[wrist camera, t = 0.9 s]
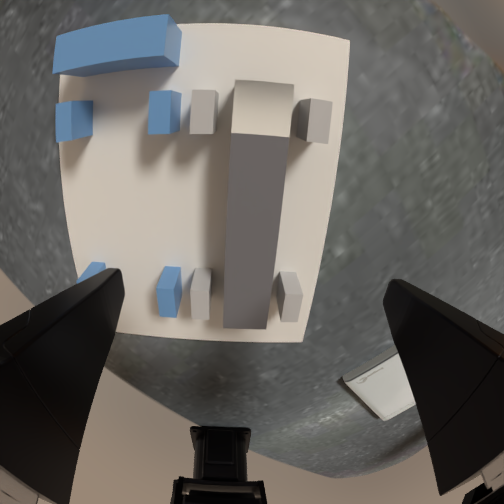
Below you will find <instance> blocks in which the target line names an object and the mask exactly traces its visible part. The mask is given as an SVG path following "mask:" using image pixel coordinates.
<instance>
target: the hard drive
mask: <svg viewBox="0 0 504 504" xmlns="http://www.w3.org/2000/svg"><path fill="white" fill-rule="evenodd" d="M342 377H343V380H344V382H345V383H346V384H347V386H349V387H350V388H351V390H352V391H354V392H355V393H356V394H357V395H358V396H359V397H360V398H361V399H362V400H363V401H364V402H365V404H367V405H368V406H369V407H370V408H371V409H372V410H373V411H374V412H375V413H376V414H377V415H378V416H379V417H380V418H381V419H382V420H383V421H385V420H388V419H390V418H392V417H394V416H396V415H398V414H399V413H401V412H403V411H405V410H406V409H408V408H410V407H412V406H413V405H415V404H416V403H415V400H414V397H413V394H412V391H411V388H410V385H409V382H408V379H407V376H406V373H405V370H404V368H403V365H402V362H401V359H400V357H399V354H398V351H397V349H396V346H395V345H394V346H392V347H390V348H389V349H387V350H386V351H384V352H383V353H381V354H379V355H378V356H376V357H374V358H373V359H371V360H369V361H368V362H366V363H364V364H363V365H361V366H359V367H357V368H356V369H354V370H352V371H350V372H349V373H347V374H345V375H343V376H342Z"/></svg>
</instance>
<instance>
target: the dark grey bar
mask: <svg viewBox="0 0 504 504" xmlns="http://www.w3.org/2000/svg"><path fill="white" fill-rule="evenodd" d="M293 94H294V85H293V84H285V83H276V82H266V81H254V80H238V79H235V87H234V100H233V114H232V129H231V144H230V161H229V179H228V198H227V219H226V243H225V271H224V306H223V328H229V329H265V330H266V327H267V320H268V313H269V306H270V299H271V291H272V283H273V276H274V268H275V260H276V252H277V244H278V236H279V228H280V219H281V211H282V202H283V193H284V184H285V175H286V166H287V156H288V147H289V137H290V126H291V116H292V105H293Z"/></svg>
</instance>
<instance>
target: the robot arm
mask: <svg viewBox="0 0 504 504" xmlns="http://www.w3.org/2000/svg"><path fill="white" fill-rule="evenodd" d="M124 297H125V288H124V283H123V277H122V272H121V270H120V269H119V268H107V269H105V270H103V271H101V272H99V273H97V274H95V275H93V276H91V277H89V278H87V279H85V280H83V281H82V282H80V283H78V284H76V285H74V286H72V287H70V288H68V289H66V290H64V291H63V292H61V293H59V294H57V295H55V296H53V297H51V298H49V299H48V300H46V301H44V302H42V303H40V304H39V305H37V306H35V307H33V308H31V310H28V311H26V312H24V313H22V314H21V315H19V316H17V317H15V318H13V319H12V320H10V321H8V322H6V323H4V324H2V325H0V504H37V501H38V498H41V499H43V500H46V501H48V502H50V503H52V504H69V502H70V496H71V490H72V485H73V479H74V474H75V470H76V464H77V460H78V456H79V452H80V450H79V449H80V447H81V443H82V438H83V435H84V431H85V427H86V423H87V419H88V416H89V412H90V409H91V405H92V402H93V399H94V395H95V392H96V389H97V386H98V383H99V379H100V376H101V373H102V370H103V367H104V364H105V361H106V358H107V356H108V353H109V350H110V347H111V344H112V342H113V339H114V336H115V332H116V329H117V324H118V320H119V316H120V313H121V309H122V305H123V301H124ZM383 306H384V310H385V313H386V316H387V320H388V323H389V327H390V330H391V334H392V337H393V341H394V343H395V346H396V349H397V351H398V354H399V357H400V359H401V362H402V365H403V368H404V370H405V373H406V376H407V379H408V382H409V385H410V388H411V391H412V394H413V397H414V400H415V403H416V406H417V409H418V412H419V416H420V419H421V422H422V426H423V429H424V433H425V436H426V440H427V442H428V443H427V444H428V447H429V452H430V456H431V460H432V464H433V468H434V472H435V476H436V482H437V486H438V491H439V494H440V496H442V495H444V494H446V493H448V492H450V491H452V490H454V489H456V488H458V487H460V486H461V485H463V484H465V483H467V482H469V481H471V480H472V479H474V478H476V477H477V476H479V475H481V476H482V478H483V481H484V483H483V484H481V485H479V486H478V487H476V488H475V489H473V490H471V491H470V492H469V493H467V494H465V497H464V499H463V502H462V504H504V334H502V333H500V332H499V331H497V330H495V329H493V328H491V327H489V326H487V325H486V324H484V323H482V322H480V321H479V320H476V319H475V318H473V317H471V316H470V315H468V314H466V313H464V312H462V311H460V310H459V309H457V308H455V307H453V306H451V305H449V304H448V303H446V302H444V301H442V300H440V299H438V298H436V297H435V296H433V295H431V294H429V293H427V292H425V291H423V290H421V289H419V288H417V287H416V286H414V285H412V284H410V283H408V282H406V281H404V280H402V279H392V280H391V281H390V282H389V284H388V287H387V290H386V293H385V296H384V299H383ZM190 433H191V438H192V442H193V447H194V450H195V457H194V458H195V459H194V472H193V478H184V477H181V476H179V479H177V480H174V482H173V483H174V484H173V492H172V498H171V502H170V504H267V499H266V494H265V488H264V482H263V481H247V460H246V453H247V452H248V448H249V442H250V437H251V429H248V428H215V427H199V426H192V427H190ZM186 492H189V495H187V494H186Z"/></svg>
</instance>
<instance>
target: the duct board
mask: <svg viewBox="0 0 504 504" xmlns="http://www.w3.org/2000/svg"><path fill="white" fill-rule="evenodd" d="M349 47H350V41H349V40H345V39H341V38H337V37H332V36H327V35H323V34H317V33H312V32H306V31H300V30H294V29H287V28H279V27H270V26H259V25H246V24H219V23H204V24H177V25H176V23H175V22H174V21H173V19H172V18H171V17H170V15H169V14H165V15H155V16H146V17H139V18H132V19H126V20H120V21H115V22H109V23H105V24H100V25H96V26H91V27H87V28H83V29H79V30H76V31H72V32H69V33H65V34H62V35H59V36H57V39H56V46H55V54H54V63H53V74H60V88H59V103H58V104H56V142H59V151H60V167H61V179H62V189H63V197H64V205H65V212H66V219H67V225H68V231H69V237H70V242H71V247H72V252H73V257H74V262H75V266H76V271H77V275H78V280H77V281H76V282H77V284H78V283H80V282H82V281H83V280H85V279H87V278H89V277H91V276H93V275H95V274H97V273H99V272H101V271H103V270H105V269H107V268H119V269H120V270H121V272H122V277H123V283H124V288H125V297H124V301H123V305H122V309H121V313H120V316H119V320H118V324H117V329H116V332H120V333H129V334H137V335H147V336H157V337H168V338H180V339H194V340H211V341H235V342H302V341H303V337H304V333H305V329H306V325H307V321H308V316H309V312H310V308H311V304H312V299H313V295H314V290H315V286H316V281H317V277H318V272H319V267H320V262H321V257H322V252H323V247H324V242H325V237H326V232H327V226H328V221H329V215H330V209H331V203H332V197H333V191H334V185H335V178H336V172H337V165H338V158H339V150H340V143H341V135H342V126H343V118H344V108H345V99H346V88H347V76H348V63H349ZM235 79H238V80H254V81H266V82H276V83H285V84H293V85H294V94H293V105H292V116H291V126H290V137H289V147H288V156H287V166H286V175H285V184H284V193H283V202H282V211H281V219H280V228H279V236H278V244H277V252H276V260H275V268H274V276H273V283H272V291H271V299H270V306H269V313H268V320H267V327H266V330H265V329H229V328H223V306H224V271H225V243H226V219H227V198H228V179H229V161H230V144H231V129H232V114H233V100H234V87H235Z"/></svg>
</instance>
